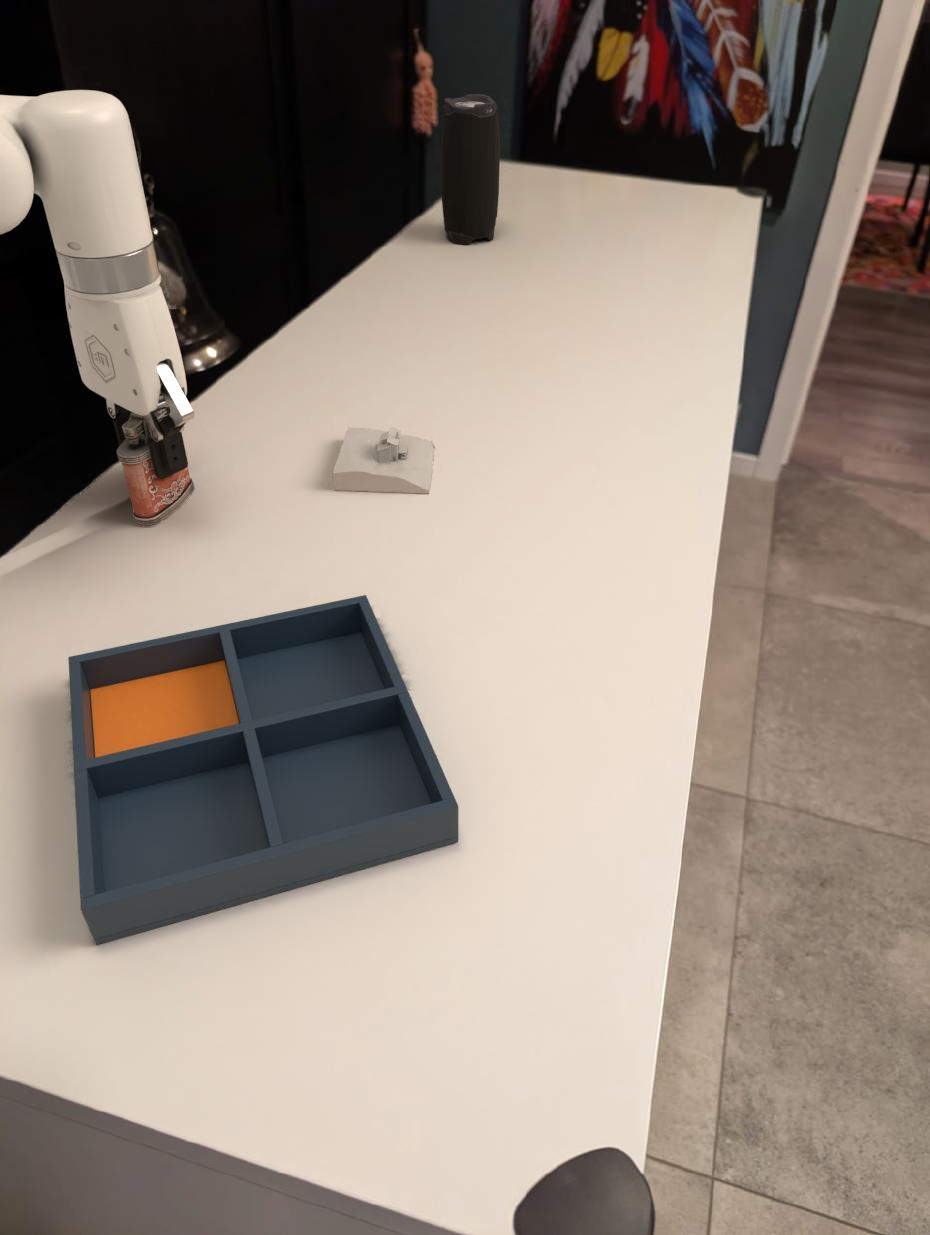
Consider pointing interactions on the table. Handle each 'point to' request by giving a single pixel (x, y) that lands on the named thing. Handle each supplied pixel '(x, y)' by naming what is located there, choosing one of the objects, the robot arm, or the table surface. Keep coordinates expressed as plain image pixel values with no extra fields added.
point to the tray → (246, 766)
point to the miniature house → (383, 462)
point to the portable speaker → (470, 168)
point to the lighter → (150, 476)
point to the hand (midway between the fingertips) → (155, 461)
